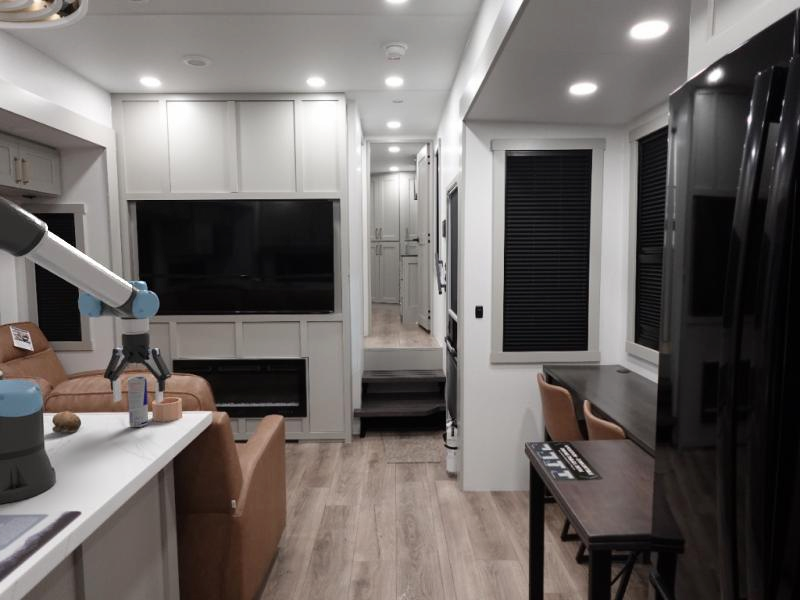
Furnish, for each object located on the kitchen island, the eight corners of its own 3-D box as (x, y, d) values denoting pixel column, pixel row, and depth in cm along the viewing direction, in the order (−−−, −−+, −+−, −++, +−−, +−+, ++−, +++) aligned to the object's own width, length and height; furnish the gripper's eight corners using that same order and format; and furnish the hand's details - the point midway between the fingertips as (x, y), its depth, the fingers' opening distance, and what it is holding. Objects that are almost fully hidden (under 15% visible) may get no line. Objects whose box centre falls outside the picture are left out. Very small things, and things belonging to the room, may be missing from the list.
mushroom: (39, 423, 150) (54, 405, 151) (63, 426, 158) (76, 409, 158) (53, 440, 147) (67, 421, 148) (77, 442, 154) (90, 424, 155)
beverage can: (151, 423, 160) (150, 375, 159) (142, 428, 155) (140, 379, 154) (136, 423, 161) (134, 375, 160) (125, 428, 156) (124, 379, 155)
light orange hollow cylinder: (173, 422, 162) (172, 404, 161) (147, 421, 163) (146, 404, 162) (187, 414, 170) (186, 397, 170) (162, 413, 171) (161, 397, 171)
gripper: (181, 331, 158) (183, 399, 160) (105, 330, 161) (108, 397, 163) (167, 334, 151) (170, 405, 153) (88, 333, 154) (91, 403, 155)
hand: (138, 401), depth 158 cm, fingers open, 13 cm apart
